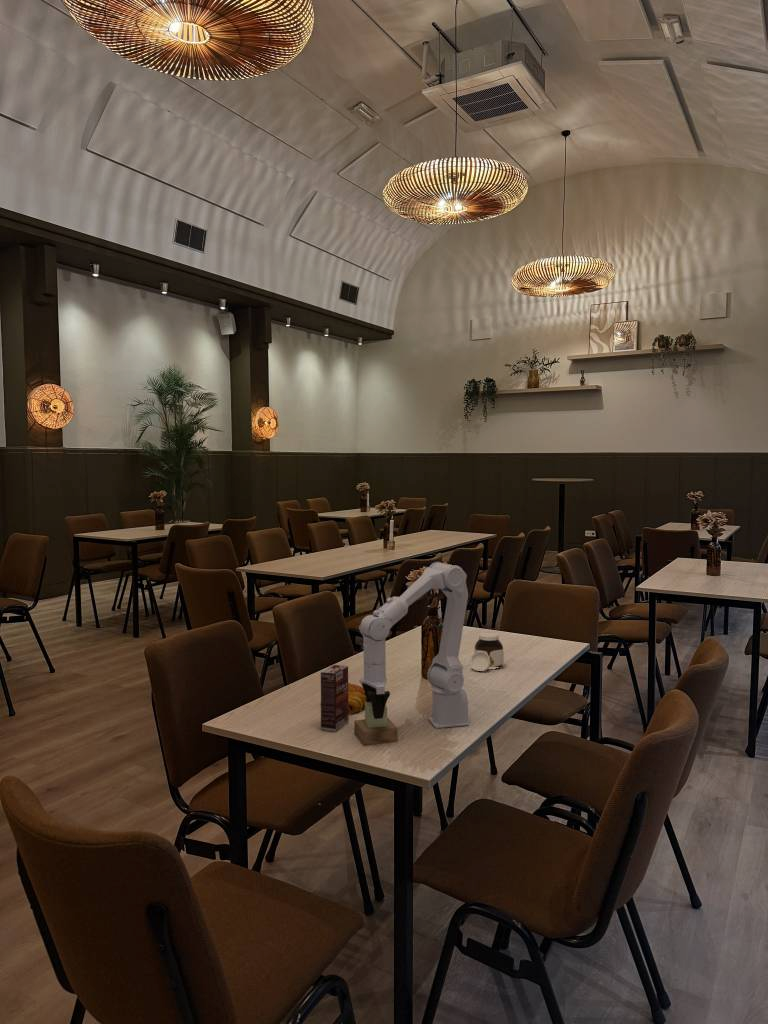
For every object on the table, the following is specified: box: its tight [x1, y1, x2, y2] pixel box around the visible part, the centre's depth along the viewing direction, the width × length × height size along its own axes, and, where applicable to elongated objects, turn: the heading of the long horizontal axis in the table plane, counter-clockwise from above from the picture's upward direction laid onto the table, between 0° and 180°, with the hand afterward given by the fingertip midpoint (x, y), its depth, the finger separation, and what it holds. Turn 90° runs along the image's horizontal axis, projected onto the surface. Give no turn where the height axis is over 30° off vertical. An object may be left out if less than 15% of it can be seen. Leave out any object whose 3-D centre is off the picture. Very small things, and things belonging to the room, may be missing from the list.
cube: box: [364, 702, 388, 728], centre depth 188 cm, size 5×5×5 cm
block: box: [353, 717, 399, 747], centre depth 188 cm, size 9×9×4 cm
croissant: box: [348, 682, 367, 715], centre depth 213 cm, size 14×16×8 cm
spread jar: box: [469, 632, 504, 672], centre depth 252 cm, size 12×11×12 cm
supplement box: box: [320, 664, 350, 733], centre depth 197 cm, size 9×5×16 cm, turn 158°
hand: (375, 713), depth 188 cm, fingers open, 7 cm apart
